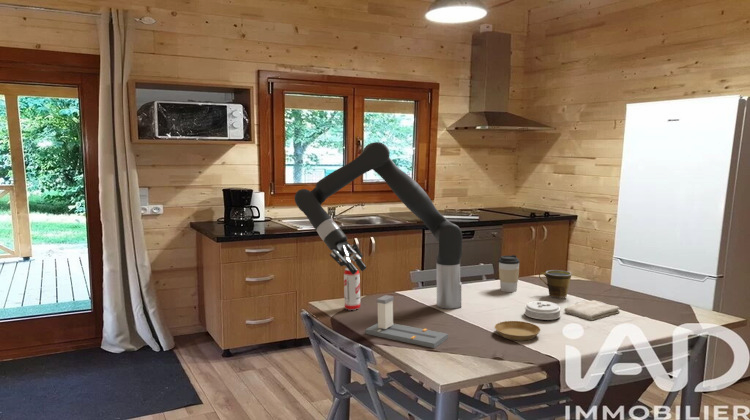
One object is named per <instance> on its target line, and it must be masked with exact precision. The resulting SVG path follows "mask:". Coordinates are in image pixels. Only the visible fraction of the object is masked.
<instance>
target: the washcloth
mask: <svg viewBox="0 0 750 420" xmlns="http://www.w3.org/2000/svg"><path fill="white" fill-rule="evenodd" d="M563 311H564V312H565V313H566V314H569V315H571V316H576V317H579V318H581V319H585V320H589V321H593V320H597V319H601V318H604V317H608V316H611V315H616V314H618V313H620V307H619V306H617V305H613V304H607V303H605V302H603V301H599V300H595V299H593V300H589V301H587V300H583V301H581V302H576V303H573V304H570V305H567V306H566V307H565V308H564V310H563Z"/></svg>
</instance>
